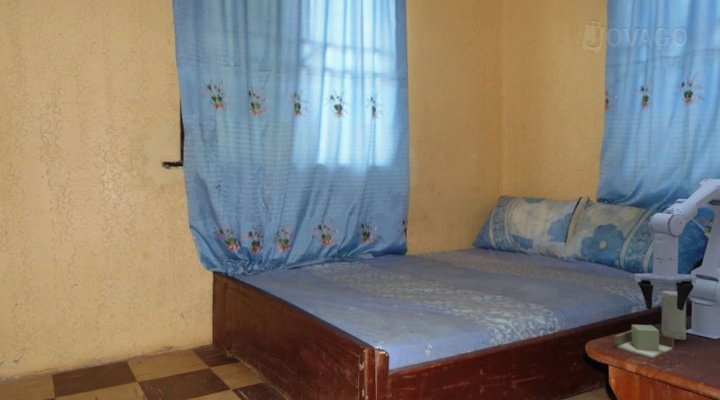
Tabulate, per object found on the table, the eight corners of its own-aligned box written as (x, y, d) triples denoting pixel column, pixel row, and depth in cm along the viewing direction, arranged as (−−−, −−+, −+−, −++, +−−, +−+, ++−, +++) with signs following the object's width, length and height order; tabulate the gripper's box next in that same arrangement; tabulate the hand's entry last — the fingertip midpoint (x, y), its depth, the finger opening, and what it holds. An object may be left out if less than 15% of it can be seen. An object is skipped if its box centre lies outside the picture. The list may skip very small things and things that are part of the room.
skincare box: (686, 340, 146) (687, 296, 145) (669, 339, 147) (669, 295, 146) (677, 333, 152) (678, 290, 152) (660, 332, 153) (661, 290, 152)
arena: (635, 338, 148) (635, 328, 147) (673, 348, 139) (674, 337, 139) (613, 347, 141) (613, 335, 141) (652, 357, 133) (652, 345, 133)
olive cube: (631, 343, 143) (631, 324, 142) (651, 343, 142) (651, 325, 141) (637, 349, 138) (638, 330, 137) (658, 350, 137) (659, 330, 136)
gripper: (641, 260, 139) (640, 312, 140) (702, 261, 137) (701, 313, 138) (632, 256, 146) (631, 305, 147) (690, 256, 144) (689, 306, 145)
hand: (664, 309), depth 143 cm, fingers open, 7 cm apart
